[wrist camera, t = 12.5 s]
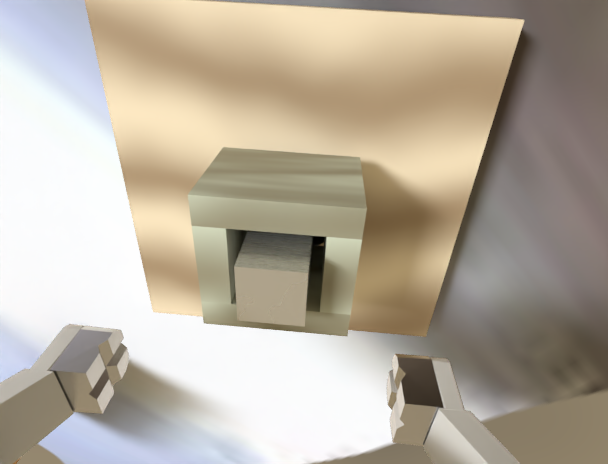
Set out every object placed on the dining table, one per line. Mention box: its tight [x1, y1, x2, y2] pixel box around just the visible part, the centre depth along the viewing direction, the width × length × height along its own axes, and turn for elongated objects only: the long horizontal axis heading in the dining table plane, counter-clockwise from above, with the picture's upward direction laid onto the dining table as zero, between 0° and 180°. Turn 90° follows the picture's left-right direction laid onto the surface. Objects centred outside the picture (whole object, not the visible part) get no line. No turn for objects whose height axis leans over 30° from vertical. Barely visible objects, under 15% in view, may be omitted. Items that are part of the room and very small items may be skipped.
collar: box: [188, 147, 367, 336], centre depth 17 cm, size 6×6×5 cm
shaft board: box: [85, 0, 524, 337], centre depth 18 cm, size 18×18×9 cm
